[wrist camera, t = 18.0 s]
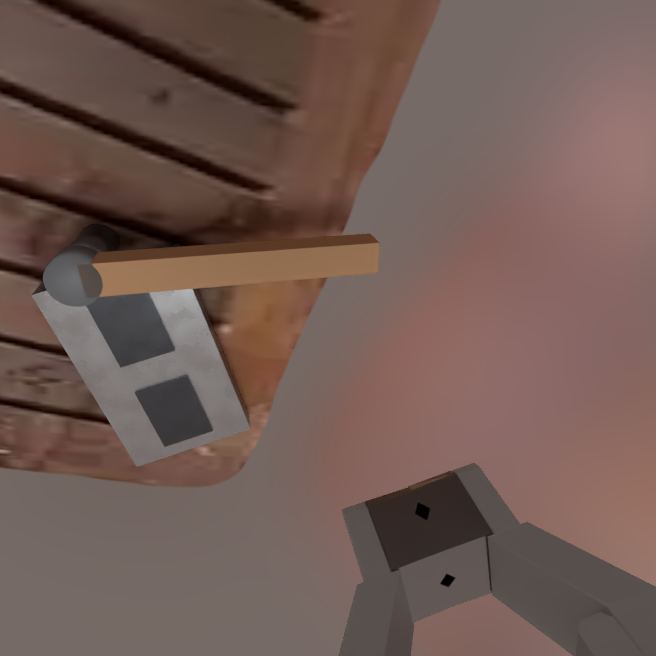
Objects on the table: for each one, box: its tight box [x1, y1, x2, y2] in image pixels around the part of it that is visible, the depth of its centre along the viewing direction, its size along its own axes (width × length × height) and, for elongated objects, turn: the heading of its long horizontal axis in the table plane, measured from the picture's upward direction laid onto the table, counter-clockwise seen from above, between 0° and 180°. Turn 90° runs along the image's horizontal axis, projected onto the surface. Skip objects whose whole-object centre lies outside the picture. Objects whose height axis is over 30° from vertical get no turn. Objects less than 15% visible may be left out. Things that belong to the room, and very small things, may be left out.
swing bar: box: [43, 234, 380, 307], centre depth 35 cm, size 23×4×2 cm, turn 90°
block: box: [32, 224, 251, 466], centre depth 42 cm, size 24×12×6 cm, turn 13°
